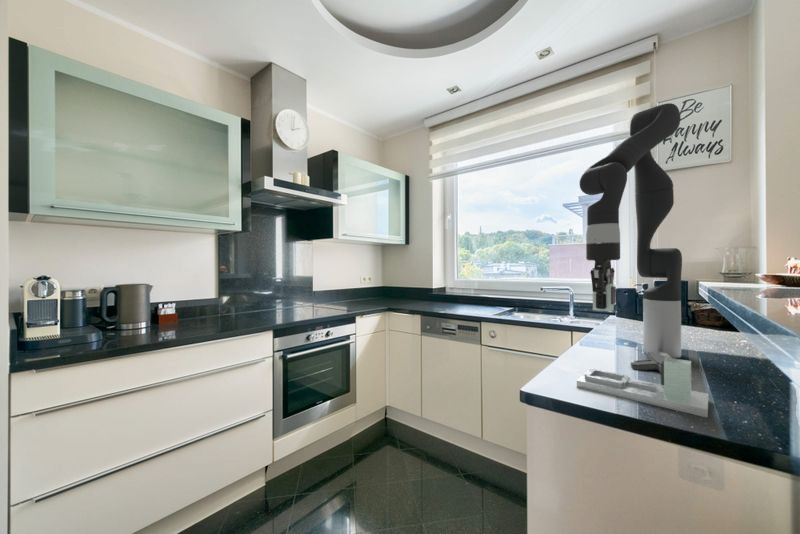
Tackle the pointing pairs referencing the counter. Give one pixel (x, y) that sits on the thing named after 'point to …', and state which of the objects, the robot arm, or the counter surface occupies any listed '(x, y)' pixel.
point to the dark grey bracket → (650, 361)
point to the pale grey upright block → (607, 298)
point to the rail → (652, 387)
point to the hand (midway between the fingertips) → (603, 307)
